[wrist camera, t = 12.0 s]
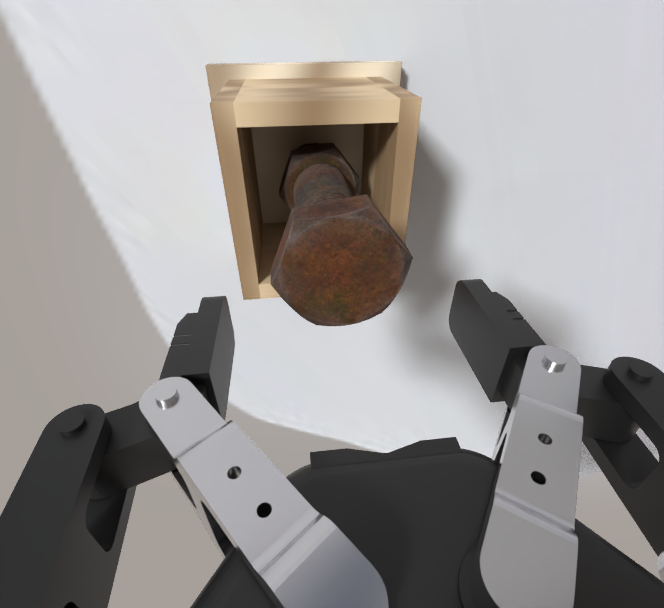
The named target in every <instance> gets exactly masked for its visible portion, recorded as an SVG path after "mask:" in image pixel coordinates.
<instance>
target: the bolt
mask: <svg viewBox="0 0 664 608" xmlns="http://www.w3.org/2000/svg"><path fill="white" fill-rule="evenodd" d="M360 182H361V180H360V178H359V176H358V175H357V173H356V172H355V170H354V169H353V168H352V166H351V165H350V164H349V162H348V161H347V160H346V158H345V157H344V156H343V154H342V153H341V152H340V150H339V149H338V148H337V147H336V146H335V144H334V143H322V144H319V143H309V144H303V145H302V146H299V147H298V148H297V149H294V150H291V153H290V156H289V158H288V161H287V164H286V167H285V170H284V174H283V177H282V180H281V184H280V188H279V196H280V198H281V199H282V200H283V202H284V203H285V204H286V205H287V207H288V208H289V209H290V210H291V213H290V216H289V219H288V222H287V224H286V227H285V230H284V233H283V236H282V239H281V242H280V245H279V247H278V250H277V253H276V256H275V259H274V262H273V265H272V268H271V285H272V287H273V288H274V289H275V290H276V292H277V293H278V294H279V295H280V297H281V298H282V299H283V300H284V301H285V302H286V303H287V304H288V305H289V306H290V307H291V308H292V309H293V310H294V311H296V312H297V313H298V314H299V315H300V316H302V317H303V318H305V319H306V320H308V321H309V322H311V323H313V324H316V325H322V326H344V325H351V324H355V323H359V322H362V321H365V320H368V319H370V318H372V317H374V316H376V315H378V314H380V313H382V312H383V311H384V310H385V309H386V308H387V307H388V306H389V305H390V304H391V302H392V301H393V300H394V298H395V297H396V295H397V294H398V292H399V290H400V289H401V287H402V285H403V283H404V280H405V278H406V276H407V273H408V271H409V268H410V265H411V262H412V259H413V257H412V255H411V254H410V252H409V250H408V248H407V246H406V245H405V243H404V242H403V241H402V240H401V238H400V237H399V236H398V234H397V233H396V232H395V230H394V229H393V228H392V227H391V225H390V224H389V223H388V221H387V220H386V219H385V217H384V216H383V215H382V214H381V212H380V211H379V210H378V208H377V207H376V206H375V204H374V203H373V202H372V201H371V199H370V198H369V197H368V195H367V194H365V195H360V196H356V194H357V191H358V188H359V185H360Z"/></svg>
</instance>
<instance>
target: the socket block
mask: <svg viewBox="0 0 664 608" xmlns="http://www.w3.org/2000/svg"><path fill="white" fill-rule="evenodd" d="M401 67H402V62H399V61H358V62H298V63H238V64H208V65H206V71H207V77H208V83H209V89H210V95H211V103H210V108H211V114H212V120H213V125H214V131H215V137H216V143H217V149H218V154H219V160H220V166H221V172H222V177H223V183H224V189H225V195H226V201H227V206H228V212H229V218H230V224H231V229H232V235H233V241H234V247H235V253H236V258H237V264H238V270H239V276H240V282H241V287H242V293H243V299H244V300H246V299H260V298H275V297H280V295H279V294H278V293H277V292H276V290H275V289H274V288H273V287H272V285H271V268H272V265H273V262H274V259H275V256H276V253H277V250H278V247H279V245H280V242H281V239H282V236H283V233H284V230H285V227H286V224H287V222H288V219H289V216H290V213H291V210H290V209H289V208H288V207H287V205H286V204H285V203H284V202H283V200H282V199H281V198H280V196H279V188H280V184H281V180H282V177H283V174H284V170H285V167H286V164H287V161H288V158H289V156H290V153H291V150H294V149H297V148H298V147H299V146H302V145H303V144H309V143H319V144H322V143H334V144H335V146H336V147H337V148H338V149H339V150H340V152H341V153H342V154H343V156H344V157H345V158H346V160H347V161H348V162H349V164H350V165H351V166H352V168H353V169H354V170H355V172H356V173H357V175H358V176H359V178H360V180H361V182H360V185H359V188H358V191H357V194H356V196H360V195H365V194H367V195H368V197H369V198H370V199H371V201H372V202H373V203H374V204H375V206H376V207H377V208H378V210H379V211H380V212H381V214H382V215H383V216H384V217H385V219H386V220H387V221H388V223H389V224H390V225H391V227H392V228H393V229H394V230H395V232H396V233H397V234H398V236H399V237H400V238H401V240H402V241H403V242H404V243H405V238H406V229H407V221H408V212H409V204H410V195H411V187H412V178H413V170H414V161H415V153H416V144H417V136H418V127H419V119H420V110H421V101H422V98H421V97H419V96H417V95H415V94H413V93H411V92H409V91H408V90H406V89H404V88H402V87H400V78H401Z"/></svg>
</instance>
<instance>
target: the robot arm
mask: <svg viewBox="0 0 664 608" xmlns="http://www.w3.org/2000/svg"><path fill="white" fill-rule="evenodd" d="M449 325H450V330H451V332H452V334H453V336H454V338H455V339H456V341H457V343H458V345H459V347H460V348H461V350H462V352H463V354H464V356H465V357H466V359H467V361H468V363H469V364H470V366H471V368H472V370H473V372H474V373H475V375H476V377H477V379H478V381H479V382H480V384H481V386H482V388H483V389H484V391H485V393H486V395H487V397H488V398H489V400H490V402H499V401H505V402H506V404H507V408H506V411H505V414H504V417H503V421H502V424H501V428H500V431H499V435H498V438H497V442H496V445H495V448H494V452H493V455H492V458H489V457H487V456H485V455H482V454H480V453H477V452H474V451H470V450H466V449H461V448H460V446H459V443H458V441H457V439H456V437H451V438H441V439H432V440H422V441H419V442H416V443H413V444H411V445H408V446H405V447H403V448H400V449H397V450H395V451H392V452H389V453H378V452H370V451H362V450H354V449H337V450H328V451H318V452H311V453H310V459H311V464H309V465H307V466H304V467H302V468H300V469H298V470H296V471H294V472H293V473H291V474H290V475H288V476H287V477H285V476H284V475H283V474H282V473H281V472H280V471H279V470H278V469H277V467H275V465H274V464H273V463H272V462H271V461H270V460H269V459H268V457H267V456H266V455H265V454H264V453H263V452H262V451H261V450H260V449H259V448H258V446H257V445H256V444H255V443H254V442H253V441H252V440H251V439H250V438H249V437H248V435H247V434H246V433H245V432H244V431H243V430H242V429H241V428H240V427H239V425H238V424H236V423H235V422H234V421H229V422H228V423H227V422H226V421H225V417H226V409H227V402H228V394H229V386H230V379H231V371H232V364H233V356H234V347H235V340H234V331H233V326H232V321H231V316H230V311H229V306H228V302H227V298H226V296H218V297H204V298H202V300H201V303H200V307H199V311H198V313H188V314H186V315H185V317H184V318H183V319H182V320H181V321H180V322H179V323H178V324H177V327H176V330H175V333H174V337H173V339H172V342H171V347H170V348H169V351H168V355H167V357H166V361H165V363H164V367H163V369H162V372H161V376H160V379H159V381H157V382H155V383H154V384H152V385H151V386H149V387H148V388H147V389H146V390H145V391H144V392H143V394H142V395H141V397H140V400H139V401H138V402H136V403H134V404H132V405H129V406H126V407H123V408H121V409H117V410H114V411H111V412H108V413H104V411H103V410H102V409H101V408H100V407H98V406H97V405H93V404H83V405H78V406H74V407H72V408H69V409H67V410H65V411H63V412H61V413H60V414H58V415H57V416H56V417H54V418H53V419H52V420H51V421H50V422H49V423H48V424H47V426H46V427H45V429H44V430H43V432H42V434H41V436H40V438H39V440H38V442H37V444H36V446H35V448H34V450H33V452H32V454H31V456H30V458H29V460H28V462H27V464H26V466H25V468H24V470H23V472H22V474H21V476H20V478H19V480H18V482H17V484H16V486H15V488H14V490H13V492H12V494H11V497H10V498H9V500H8V502H7V504H6V506H5V508H4V510H3V512H2V514H1V516H0V608H107V607H108V603H109V599H110V594H111V590H112V586H113V582H114V578H115V573H116V569H117V565H118V561H119V557H120V552H121V548H122V544H123V540H124V536H125V531H126V527H127V523H128V519H129V514H130V511H131V507H132V502H133V498H134V494H135V490H136V486H137V485H138V484H140V483H143V482H145V481H148V480H150V479H153V478H155V477H158V476H160V475H163V474H165V473H167V472H170V474H171V475H172V476H173V478H174V480H175V481H176V483H177V484H178V486H179V487H180V489H181V490H182V492H183V493H184V495H185V496H186V498H187V499H188V501H189V502H190V504H191V506H192V507H193V509H194V510H195V512H196V513H197V515H198V516H199V518H200V520H201V521H202V523H203V525H204V527H205V529H206V530H207V532H208V534H209V535H210V537H211V539H212V541H213V542H214V544H215V545H216V547H217V549H218V550H219V552H220V553H221V555H222V556H223V558H224V560H223V562H222V563H221V564H220V566H219V567H218V569H217V570H216V572H215V573H214V575H213V576H212V577H211V579H210V580H209V582H208V583H207V584H206V586H205V587H204V589H203V590H202V592H201V593H200V594H199V596H198V597H197V599H196V600H195V602H194V603H193V605H192V606H191V607H190V608H664V373H663V372H662V371H660V370H659V369H658V368H656V367H655V366H653V365H652V364H650V363H648V362H645V361H643V360H640V359H637V358H632V357H618V358H615V359H614V360H613V361H612V362H611V364H610V365H609V367H608V369H605V368H598V367H591V366H585V365H580V364H579V362H578V360H577V359H576V358H575V357H574V356H572V355H571V354H570V353H568V352H566V351H565V350H562V349H560V348H557V347H554V346H548V345H546V344H545V343H544V342H543V341H542V339H541V338H540V337H539V336H538V335H537V333H536V332H535V331H534V330H533V329H532V327H531V326H530V325H529V324H528V323H527V321H526V320H524V319H523V317H522V315H521V314H520V313H519V312H517V309H516V308H515V307H514V306H513V304H512V303H511V302H510V301H509V300H508V299H506V298H505V297H503V296H502V295H500V294H499V293H497V292H491V290H490V289H489V288H488V287H487V285H486V284H485V283H484V282H483V280H481V279H474V280H460V281H458V282H457V284H456V287H455V291H454V296H453V301H452V305H451V310H450V314H449ZM639 428H641V429H642V430H643V431H644V433H645V434H646V435H647V436H648V438H649V439H650V440H651V441H652V442H653V444H654V445H655V446H656V448H657V450H658V453H659V462H658V461H657V459H656V458H655V457H654V456H653V454H652V453H651V452H650V451H649V449H648V448H647V447H646V446H645V444H644V443H643V442H642V441H641V439H640V438H639V437H638V436H637V434H636V432H637V430H638V429H639ZM582 441H583V443H584V444H585V446H586V447H587V449H588V450H589V452H590V454H591V455H592V457H593V458H594V460H595V461H596V463H597V464H598V466H599V467H600V469H601V470H602V472H603V473H604V475H605V476H606V478H607V479H608V481H609V482H610V484H611V486H612V487H613V489H614V490H615V492H616V493H617V495H618V496H619V498H620V499H621V501H622V502H623V504H624V505H625V507H626V508H627V510H628V511H629V513H630V514H631V516H632V517H633V519H634V520H635V522H636V524H637V525H638V526H639V528H640V530H641V531H642V533H643V534H644V535H645V537H646V539H647V540H648V542H649V543H650V545H651V546H652V548H653V550H654V551H655V553H656V554H657V556H658V561H657V567H658V571H659V574H660V577H661V579H662V581H663V582H662V581H661V580H659V579H658V578H657V577H655V576H654V575H653V574H651V573H649V572H648V571H647V570H646V569H644V568H643V567H642V566H640V565H639V564H637V563H636V562H635V561H633V560H632V559H630V558H629V557H628V556H626V555H625V554H624V553H622V552H621V551H619V550H618V549H617V548H615V547H614V546H612V545H611V544H610V543H608V542H607V541H606V540H604V539H603V538H602V537H600V536H599V535H598V534H596V533H595V532H593V531H592V530H591V529H589V528H588V527H586V526H585V525H584V524H582V523H581V522H579V521H578V520H577V519H575V512H576V500H577V490H578V478H579V466H580V455H581V443H582Z"/></svg>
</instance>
